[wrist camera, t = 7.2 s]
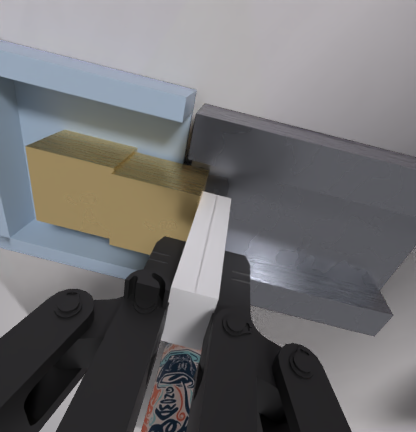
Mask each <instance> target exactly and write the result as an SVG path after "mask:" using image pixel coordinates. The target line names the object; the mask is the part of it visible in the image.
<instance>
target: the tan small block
mask: <svg viewBox="0 0 416 432" xmlns="http://www.w3.org/2000/svg"><path fill="white" fill-rule="evenodd" d="M25 148H26V155H27V161H28V168H29V174H30V181H31V187H32V194H33V200H34V207H35V213H36V220H37V221H41V222H45V223H49V224H53V225H57V226H61V227H65V228H69V229H73V230H77V231H81V232H85V233H89V234H93V235H97V236H101V237H105V238H109V239H110V189H111V173H112V172H113V171H114V170H116V169H117V168H118V167H119V166H120V165H121V164H122V163H124V162H125V161H126V160H127V159H128V158H129V157H130V156H132V155H133V154H134V153H135V152H137V148H136V147H132V146H128V145H124V144H120V143H116V142H112V141H108V140H104V139H100V138H96V137H92V136H89V135H85V134H81V133H77V132H73V131H69V130H65V129H64V130H62V131H60V132H57V133H55V134H53V135H50V136H48V137H45V138H43V139H41V140H38V141H36V142H34V143H31V144H29V145H27V146H25Z"/></svg>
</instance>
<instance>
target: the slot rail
mask: <svg viewBox="0 0 416 432" xmlns="http://www.w3.org/2000/svg"><path fill="white" fill-rule="evenodd" d="M188 159H189V160H192V165H191V166H193V167H197V168H201V169H205V170H209V175H208V179H207V183H206V188H205V192H208V193H212V194H215V195H219V196H223V197H227V198H231V205H230V213H229V221H228V229H227V237H226V245H225V251H229V252H232V253H236V254H240V255H244V256H246V258H247V260H248V262H249V264H250V305H252V306H256V307H260V308H264V309H268V310H272V311H276V312H280V313H284V314H288V315H292V316H296V317H300V318H304V319H308V320H311V321H315V322H319V323H323V324H327V325H331V326H335V327H339V328H343V329H347V330H351V331H355V332H359V333H363V334H367V335H371V336H375V335H376V334H377V333H378V332H379V331H380V330H381V328H382V327H383V326H384V325H385V324H386V323H387V322H388V321H389V320H390V319H391V317H392V316H393V314H392V312H391V310H390V309H389V307H388V305H387V303H386V301H385V299H384V298H383V296H382V294H381V292H380V289H381V288H382V287H383V285H384V284H385V283H386V282H387V280H388V279H389V278H390V277H391V275H392V274H393V273H394V272H395V270H396V269H397V268H398V267H399V265H400V264H401V263H402V262H403V260H404V259H405V258H406V257H407V255H408V254H409V253H410V252H411V250H412V249H413V248H414V247H415V245H416V157H413V156H409V155H405V154H401V153H397V152H393V151H389V150H385V149H381V148H377V147H373V146H370V145H366V144H362V143H358V142H354V141H350V140H346V139H342V138H338V137H334V136H330V135H326V134H322V133H319V132H315V131H311V130H307V129H303V128H299V127H295V126H291V125H287V124H283V123H279V122H275V121H272V120H268V119H264V118H260V117H256V116H252V115H248V114H244V113H240V112H236V111H232V110H228V109H224V108H221V107H217V106H213V105H209V104H204V105H203V106H202V107H201V108H200V110H199V111H198V112H197V113H196V117H195V123H194V128H193V134H192V139H191V145H190V150H189V156H188Z"/></svg>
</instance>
